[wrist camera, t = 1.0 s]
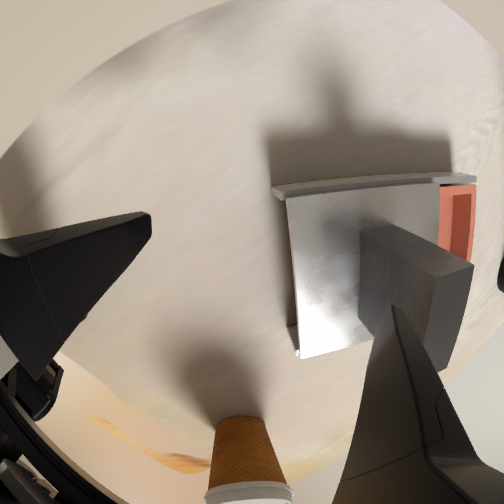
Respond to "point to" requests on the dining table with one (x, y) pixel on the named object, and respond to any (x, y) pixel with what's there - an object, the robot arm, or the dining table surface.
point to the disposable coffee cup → (245, 466)
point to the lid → (374, 267)
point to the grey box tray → (451, 183)
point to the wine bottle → (501, 277)
